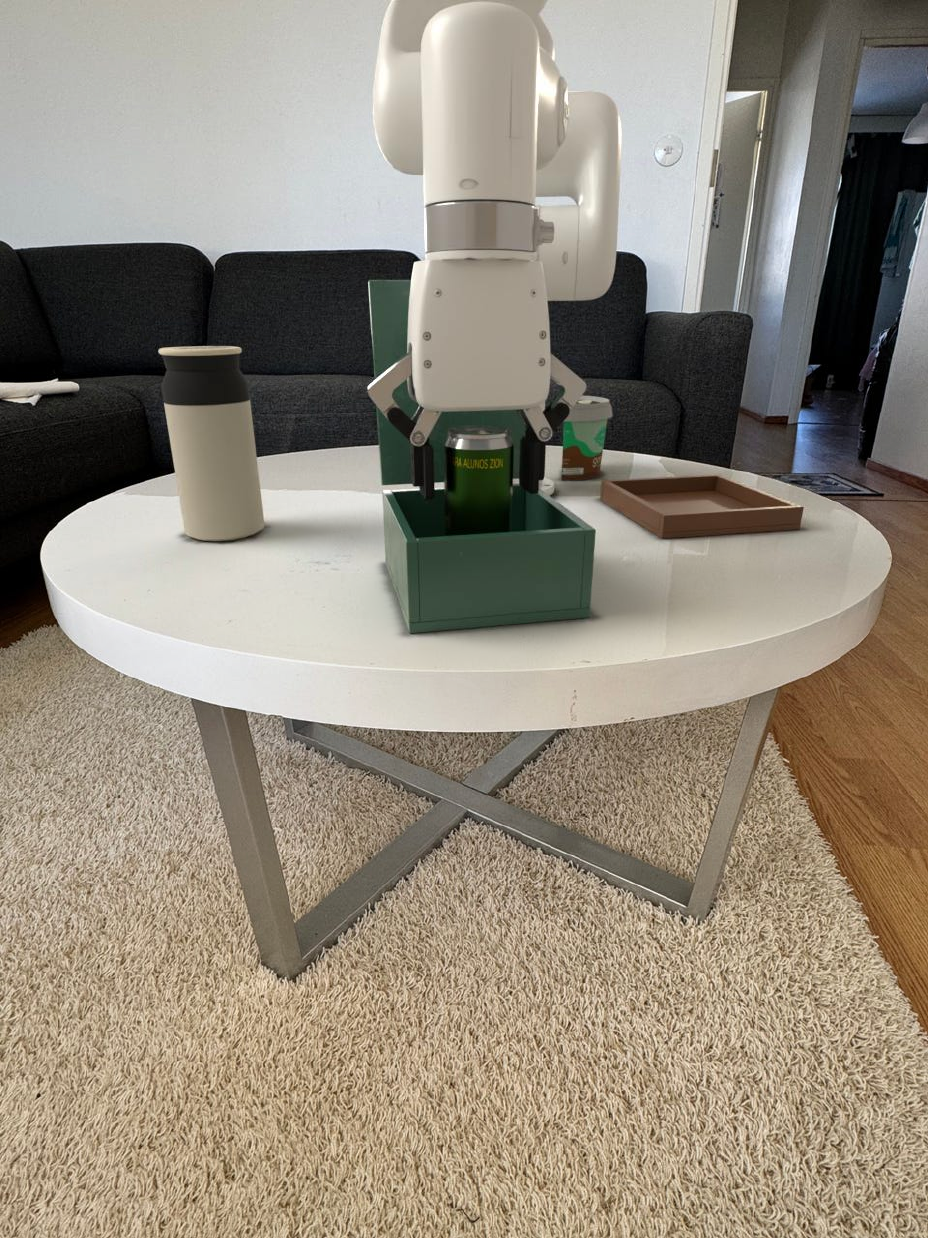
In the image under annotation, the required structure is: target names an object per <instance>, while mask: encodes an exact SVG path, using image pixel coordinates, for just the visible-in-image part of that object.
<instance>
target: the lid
mask: <svg viewBox="0 0 928 1238" xmlns="http://www.w3.org/2000/svg"><path fill="white" fill-rule="evenodd" d="M367 284H368V299H369V302H368V303H369V314H370V315H369V317H370V329H371V331H370V333H371V346H372V361H373V375H374V376H373V377H374V381H375V380H376V379H377V378H378V377H379V376H381V375H382V374H383V373H384V372H385V371H387V370H388V369H389V368H390V367H391V366H393V365H394V364H395V363H396V362H397V361H399V360H400V359H401V358H402V357H403V356H405V355H406V354H407V340H408V312H409V296H410V287H411V279H392V280H391V279H369V280H368V282H367ZM392 398H393V400H394V401H395V402H396V404H397V405H398V406H399V408H400V409H401V410H402V411H403V412H404V413H405V414H406V415H407V416H408V417H409V418H410V419H412V417H413V415H414V413H415V411H416V409H417V408H418V406H419V404H418V403H417V402H415V401H414V400H412V399H411V397H410V395H409V391H408V380H407V379H406V380H405V381H404V382H403V383H402V384H400V385H399V386H398V387H397V388H396V389H394V391H393V392H392ZM375 406H376V423H377V424H376V425H377V439H378V452H379V455H378V456H379V469H380V483H381V485H382V486H395V485H397V486H398V485H413V484H412V474H411V444H410V441H409V440H408V439H407V438H406V437H405V436H404V435H403V434H402V433H401V432H400V431H399V430H398V429H396V428H395V427H394V426H393V425H392V424H391V423H390V422H389V420H388V419H387V418H386V417H385V415H384V414H383V413H382V412H381V410H380V409H379V408H378V407H377V405H376V404H375ZM459 426H498V427H505V428H508V429H511V435H510V437H511V439H512V441H513V444H514V457H513V479H519V462H520V439H521V438H522V436H525V430H526V428H525V426H524V424H523V423H522V421H521V419H520V417H519V415H518V413H517V412H516V410H491V411H455V412H442V413H441V415H440V416H439V418H438V420H437V422H436V424H435V426H434V427H433V429H432V431H431V433H430V435H429V444H430V445H431V446H432V447H433V449H434V484H439V483H444V442H445V440H446V438H447V436H448V435H447V429H449V428H453V427H459Z"/></svg>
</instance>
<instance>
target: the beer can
mask: <svg viewBox="0 0 928 1238" xmlns="http://www.w3.org/2000/svg"><path fill="white" fill-rule="evenodd" d="M447 435H448V436H447V438H446V440H445V442H444V482H443V487H444V504H445V536H457V535H472V534H488V533H503V532H512V498H513V457H514V444H513V441H512V439H511V437H510V435H511V429H508V428H505V427H498V426H459V427H453V428H449V429H447Z"/></svg>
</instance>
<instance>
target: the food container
mask: <svg viewBox="0 0 928 1238" xmlns="http://www.w3.org/2000/svg"><path fill="white" fill-rule="evenodd" d="M612 409H613V408H612V405H611V404H610V399H609V398H606V397H600V396H593V395H582V396H581V397H580V399H579V400H578V401H577V403H576V404H575V406H574V407H572V409H571V410H570V413H569V415H568V417H567V418H566V419H565V420H564V421H563V434H562V453H561V454H562V455H561V456H562V457H561V477H560V478H561V481H582V480H591V479H594V478H597V477H599V476H600V473H601V467H602V460H603V453H604V445H605V440H606V432H607V425H608V419H612V418H613V410H612Z"/></svg>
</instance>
